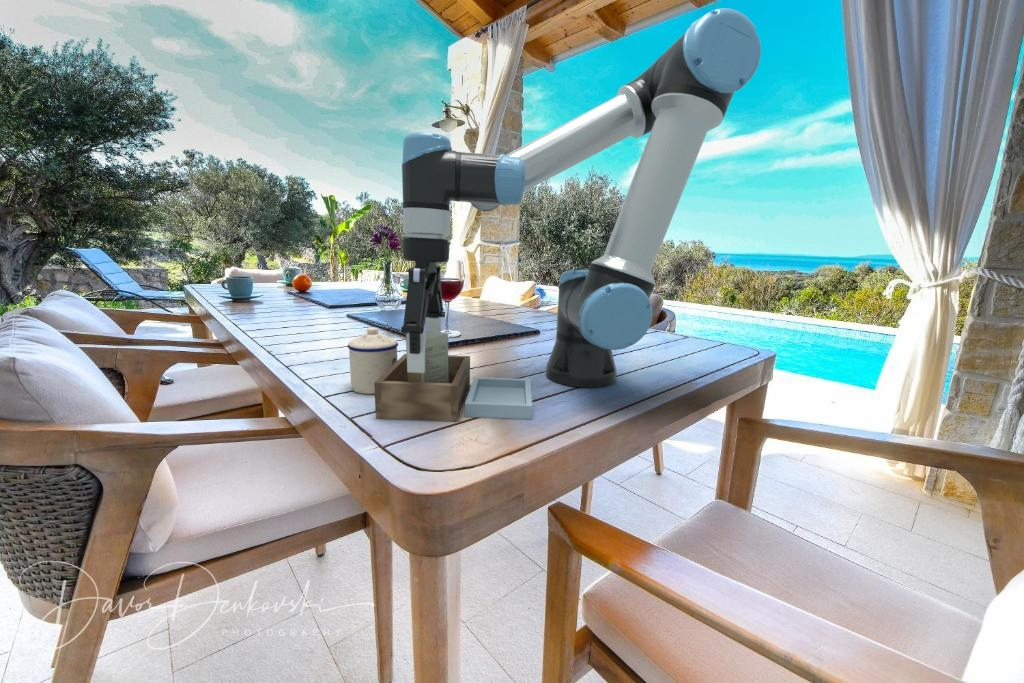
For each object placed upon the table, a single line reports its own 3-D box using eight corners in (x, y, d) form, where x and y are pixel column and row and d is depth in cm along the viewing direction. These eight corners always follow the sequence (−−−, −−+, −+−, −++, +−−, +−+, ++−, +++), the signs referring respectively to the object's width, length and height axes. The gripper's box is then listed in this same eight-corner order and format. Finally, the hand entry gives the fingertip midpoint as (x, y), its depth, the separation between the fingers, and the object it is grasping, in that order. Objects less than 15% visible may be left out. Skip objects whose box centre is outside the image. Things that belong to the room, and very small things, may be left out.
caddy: (469, 384, 84) (470, 356, 82) (457, 421, 66) (457, 385, 65) (405, 382, 84) (404, 353, 82) (375, 418, 66) (374, 382, 65)
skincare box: (434, 392, 79) (434, 329, 76) (449, 398, 76) (449, 333, 73) (406, 401, 74) (404, 334, 71) (421, 407, 71) (419, 338, 68)
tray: (529, 390, 82) (529, 379, 81) (531, 419, 68) (532, 406, 67) (473, 388, 82) (473, 377, 81) (464, 416, 68) (465, 403, 68)
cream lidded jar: (400, 393, 78) (398, 332, 75) (348, 397, 75) (344, 334, 72) (397, 374, 89) (395, 320, 86) (352, 376, 86) (349, 321, 83)
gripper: (420, 237, 81) (420, 343, 85) (378, 233, 56) (381, 381, 61) (459, 239, 81) (456, 345, 85) (434, 236, 56) (432, 384, 61)
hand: (425, 360), depth 73 cm, fingers open, 13 cm apart
